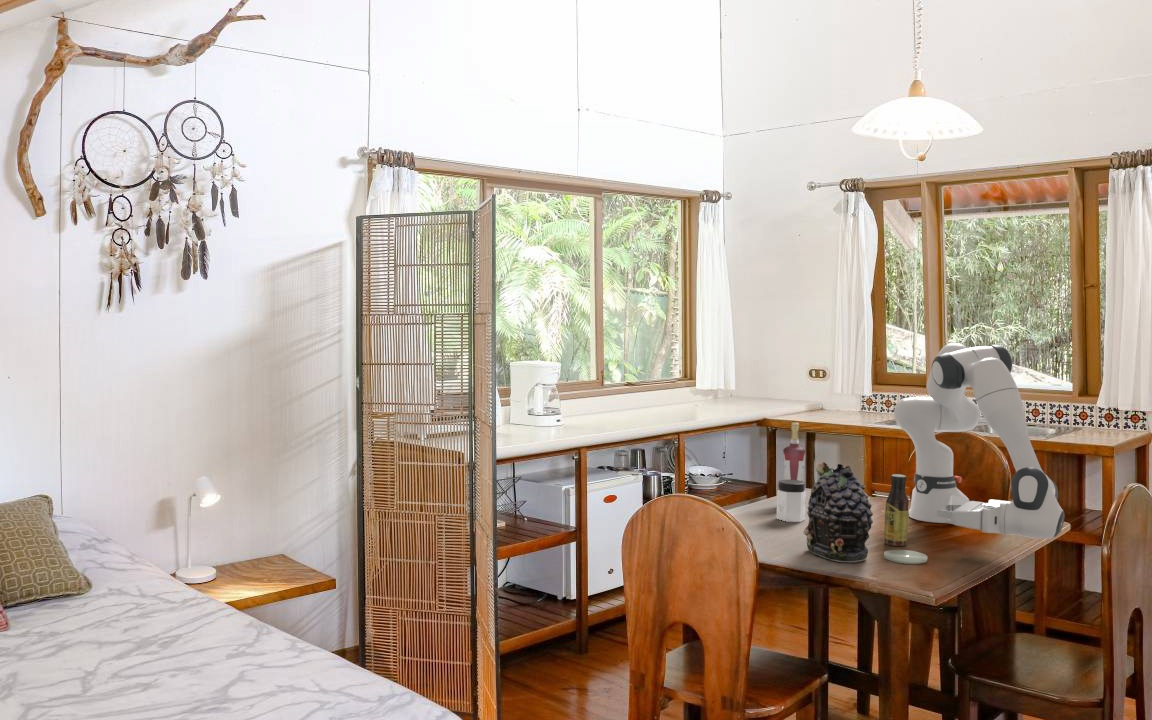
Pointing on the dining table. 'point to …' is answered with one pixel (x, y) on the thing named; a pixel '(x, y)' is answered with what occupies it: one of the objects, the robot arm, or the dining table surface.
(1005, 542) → the dining table surface
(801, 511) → the jar
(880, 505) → the dining table surface
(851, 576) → the dining table surface
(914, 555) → the round plate
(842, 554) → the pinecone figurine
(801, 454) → the liquor
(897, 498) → the sauce bottle
